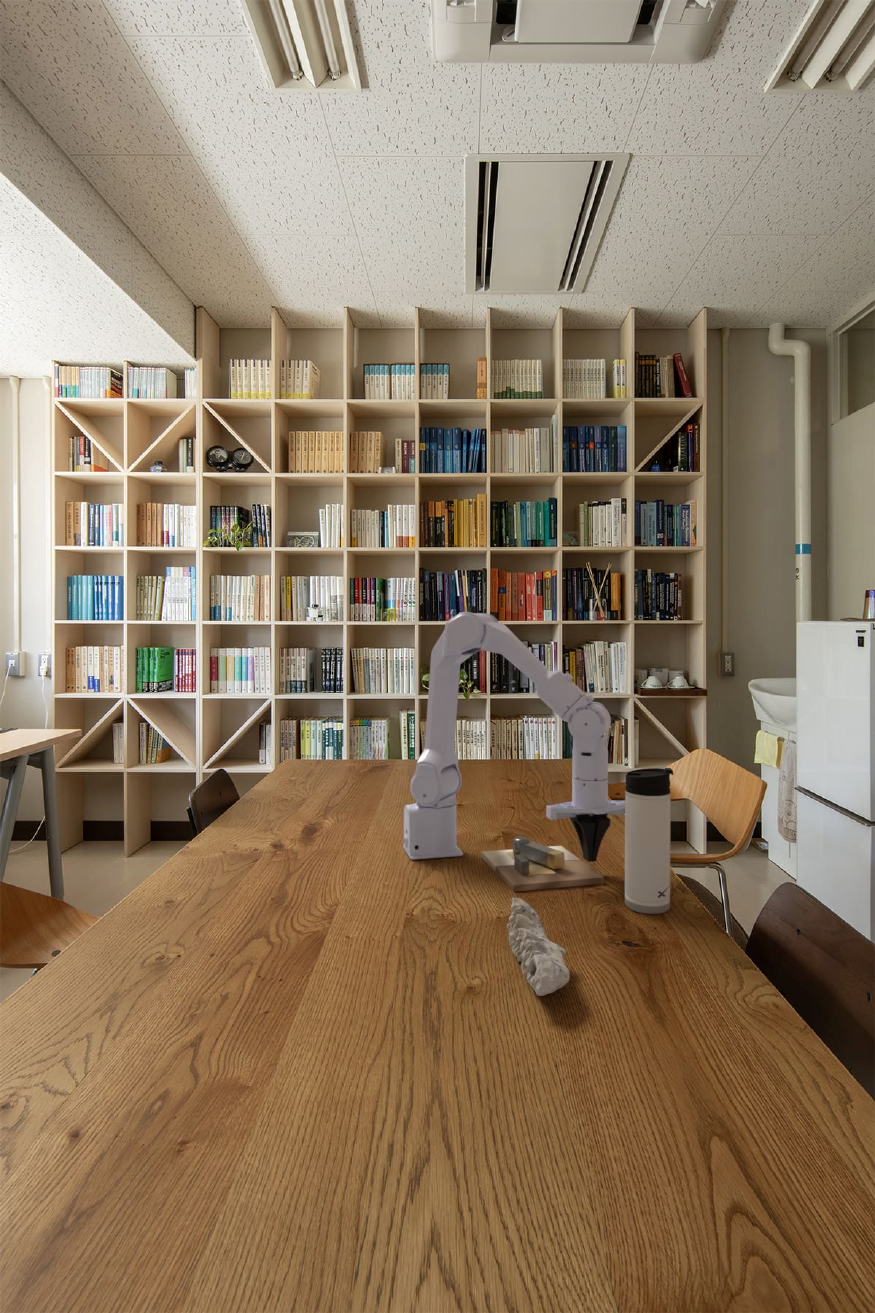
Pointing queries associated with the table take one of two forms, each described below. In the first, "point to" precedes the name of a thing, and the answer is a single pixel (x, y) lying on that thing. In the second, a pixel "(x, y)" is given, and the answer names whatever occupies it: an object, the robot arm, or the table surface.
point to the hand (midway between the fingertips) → (589, 859)
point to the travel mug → (647, 840)
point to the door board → (540, 871)
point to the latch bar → (538, 852)
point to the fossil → (536, 950)
